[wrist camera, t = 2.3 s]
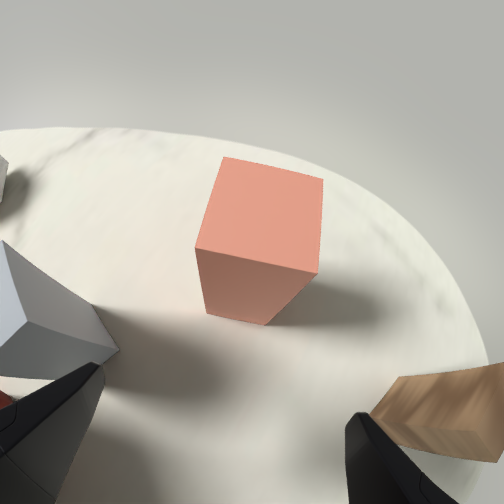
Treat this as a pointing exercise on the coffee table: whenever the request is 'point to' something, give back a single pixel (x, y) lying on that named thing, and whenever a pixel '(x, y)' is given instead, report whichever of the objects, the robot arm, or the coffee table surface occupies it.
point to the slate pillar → (45, 324)
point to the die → (2, 175)
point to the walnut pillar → (447, 413)
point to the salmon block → (258, 240)
